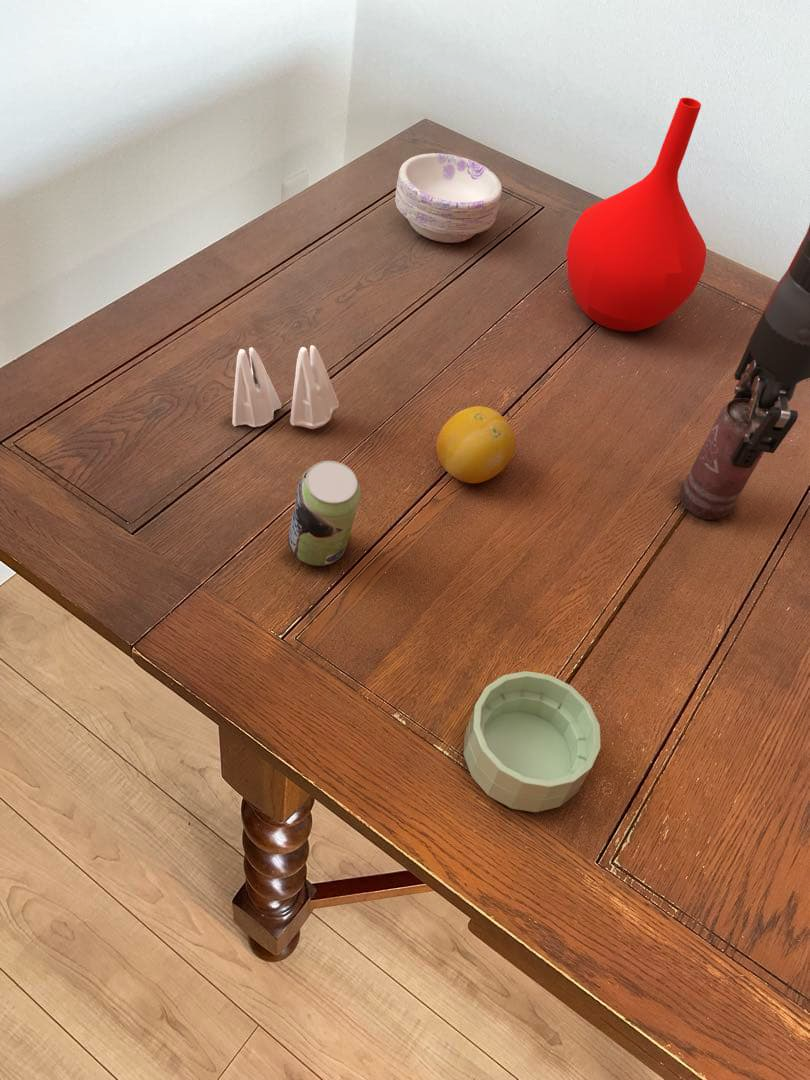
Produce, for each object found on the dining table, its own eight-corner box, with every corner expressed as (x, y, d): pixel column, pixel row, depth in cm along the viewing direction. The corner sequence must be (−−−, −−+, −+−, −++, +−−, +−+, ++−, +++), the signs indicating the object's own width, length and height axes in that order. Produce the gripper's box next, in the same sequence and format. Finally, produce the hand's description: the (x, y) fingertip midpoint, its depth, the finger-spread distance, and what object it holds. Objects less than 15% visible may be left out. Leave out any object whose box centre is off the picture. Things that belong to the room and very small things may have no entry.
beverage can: (325, 518, 104) (334, 437, 95) (363, 564, 101) (377, 484, 92) (274, 540, 101) (279, 458, 92) (312, 588, 98) (321, 508, 89)
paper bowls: (485, 203, 151) (496, 155, 145) (497, 259, 142) (509, 210, 136) (389, 194, 149) (395, 145, 143) (394, 250, 139) (402, 200, 133)
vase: (539, 326, 132) (602, 112, 110) (566, 259, 144) (628, 54, 122) (669, 367, 130) (760, 157, 108) (686, 295, 142) (771, 93, 120)
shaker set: (337, 414, 115) (346, 339, 107) (335, 438, 112) (344, 363, 104) (236, 402, 114) (236, 326, 106) (231, 426, 111) (231, 350, 103)
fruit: (476, 508, 108) (490, 456, 102) (419, 471, 111) (430, 419, 105) (518, 468, 113) (534, 417, 107) (462, 434, 116) (475, 382, 110)
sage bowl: (581, 713, 92) (598, 682, 88) (584, 823, 85) (602, 795, 81) (466, 694, 92) (477, 662, 88) (458, 803, 84) (470, 774, 80)
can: (711, 531, 111) (761, 443, 100) (668, 498, 113) (712, 408, 103) (740, 508, 114) (792, 421, 103) (697, 476, 116) (744, 387, 106)
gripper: (856, 372, 89) (779, 496, 102) (827, 283, 99) (759, 407, 111) (777, 358, 89) (709, 484, 102) (756, 270, 99) (696, 395, 111)
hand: (736, 443), depth 106 cm, fingers closed on can, 6 cm apart
